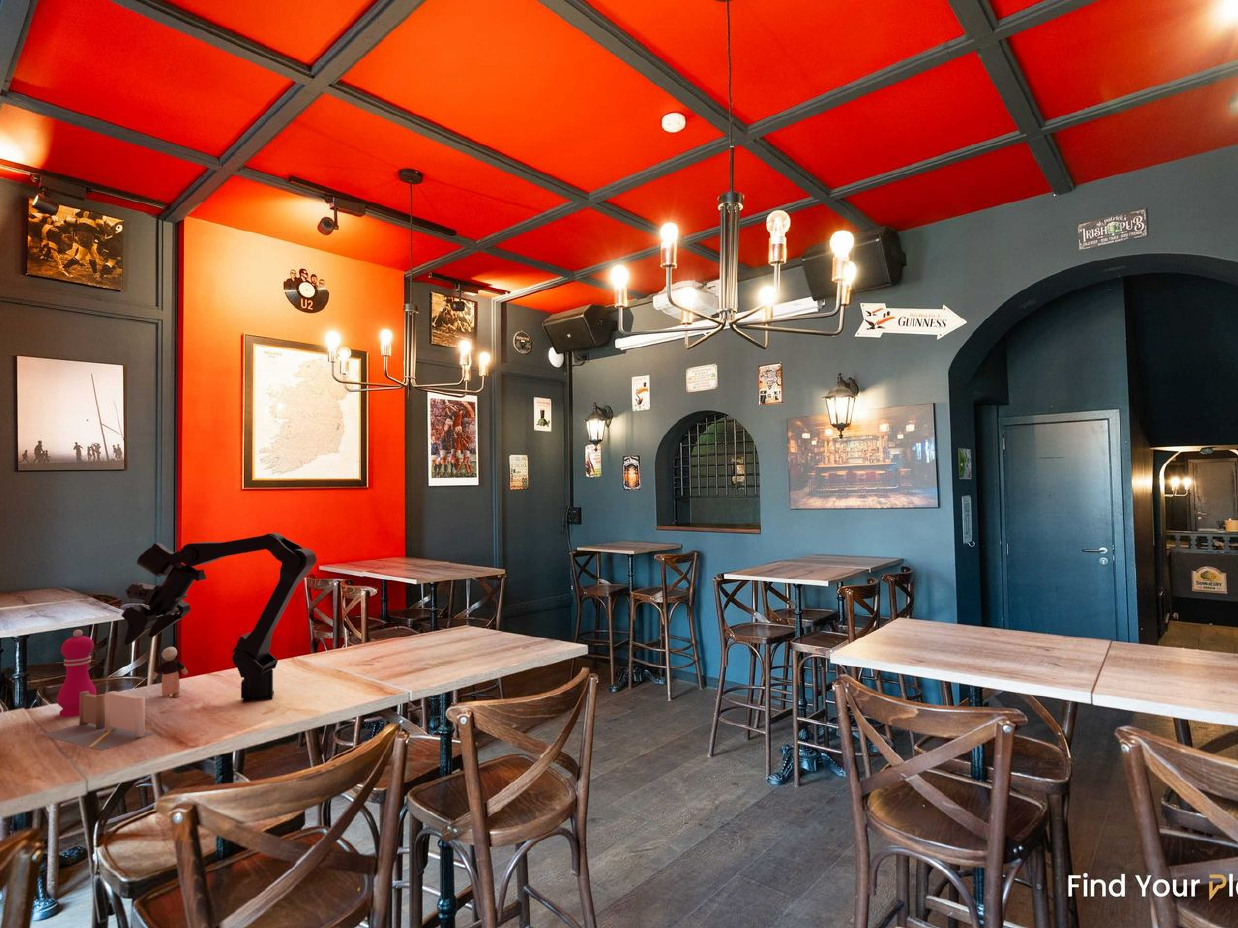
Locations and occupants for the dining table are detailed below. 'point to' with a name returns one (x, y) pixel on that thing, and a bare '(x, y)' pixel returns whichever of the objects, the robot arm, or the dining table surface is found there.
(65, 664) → the pepper mill
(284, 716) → the dining table surface
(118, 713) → the fence gate
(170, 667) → the grandmother figurine
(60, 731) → the board
